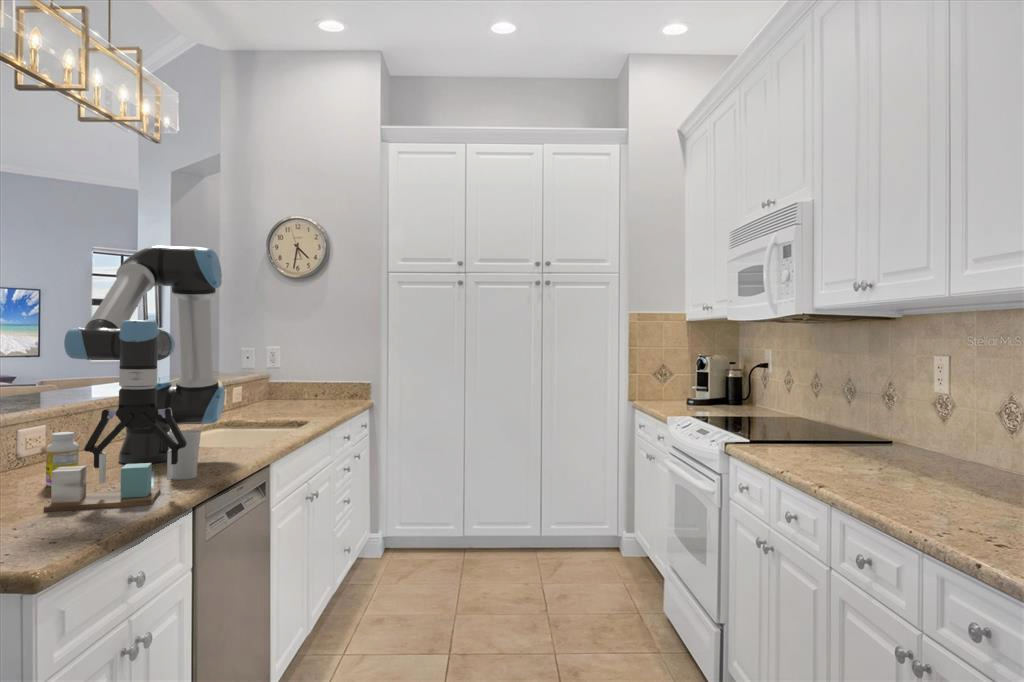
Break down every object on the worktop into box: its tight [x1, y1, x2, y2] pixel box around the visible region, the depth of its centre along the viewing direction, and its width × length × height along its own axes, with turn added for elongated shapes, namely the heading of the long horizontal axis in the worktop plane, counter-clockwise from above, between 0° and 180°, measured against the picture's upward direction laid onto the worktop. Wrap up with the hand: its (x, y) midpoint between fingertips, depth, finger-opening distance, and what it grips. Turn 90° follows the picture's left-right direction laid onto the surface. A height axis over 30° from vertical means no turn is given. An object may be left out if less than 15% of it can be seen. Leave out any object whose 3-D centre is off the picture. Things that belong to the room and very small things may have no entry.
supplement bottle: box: [45, 431, 80, 487], centre depth 157 cm, size 7×7×13 cm
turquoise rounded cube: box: [120, 463, 153, 498], centre depth 144 cm, size 5×5×7 cm
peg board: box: [43, 465, 161, 513], centre depth 142 cm, size 12×20×8 cm, turn 111°
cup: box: [167, 429, 202, 481], centre depth 168 cm, size 8×8×12 cm
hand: (136, 480), depth 144 cm, fingers open, 13 cm apart
